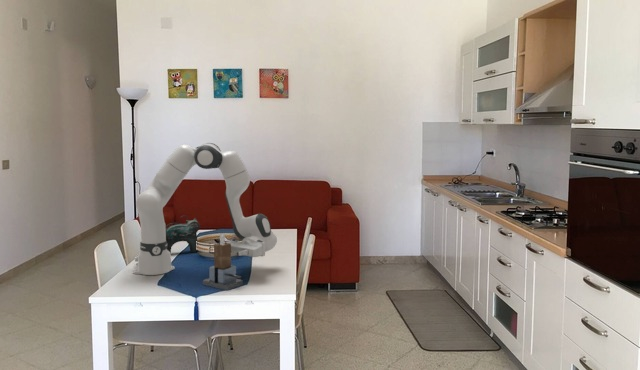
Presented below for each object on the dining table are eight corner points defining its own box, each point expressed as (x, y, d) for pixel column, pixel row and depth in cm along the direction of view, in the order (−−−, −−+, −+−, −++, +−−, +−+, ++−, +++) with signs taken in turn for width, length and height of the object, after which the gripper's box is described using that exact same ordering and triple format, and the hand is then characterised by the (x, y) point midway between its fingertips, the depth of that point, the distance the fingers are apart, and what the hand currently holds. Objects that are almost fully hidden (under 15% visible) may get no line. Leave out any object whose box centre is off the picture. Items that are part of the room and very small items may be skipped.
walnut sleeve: (214, 267, 242) (214, 244, 241) (222, 264, 246) (222, 242, 245) (223, 268, 239) (222, 245, 238) (231, 266, 243) (230, 243, 242)
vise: (202, 284, 243) (202, 234, 241) (219, 279, 252) (218, 230, 249) (232, 291, 234) (231, 239, 231) (248, 285, 242) (247, 235, 240)
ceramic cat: (197, 249, 306) (197, 213, 304) (201, 252, 301) (201, 215, 298) (161, 254, 295) (160, 216, 293) (164, 257, 290) (164, 218, 288)
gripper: (233, 236, 263) (212, 242, 251) (267, 242, 252) (247, 248, 240) (233, 249, 263) (212, 255, 252) (267, 256, 252) (247, 262, 241)
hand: (229, 252), depth 246 cm, fingers open, 8 cm apart
